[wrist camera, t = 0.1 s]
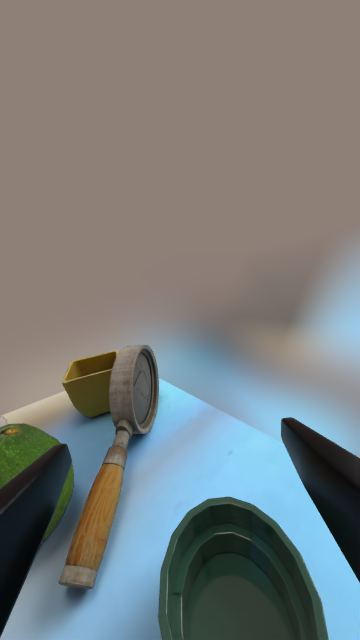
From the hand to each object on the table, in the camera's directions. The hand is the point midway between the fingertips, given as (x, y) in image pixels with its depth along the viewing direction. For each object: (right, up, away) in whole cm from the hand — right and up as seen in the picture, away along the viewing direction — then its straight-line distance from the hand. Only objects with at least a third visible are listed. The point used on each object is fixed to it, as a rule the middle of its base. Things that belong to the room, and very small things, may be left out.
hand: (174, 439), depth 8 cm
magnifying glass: (-6, -13, +18) cm, 24 cm away
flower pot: (-14, -12, +29) cm, 35 cm away
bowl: (+4, -15, +5) cm, 17 cm away
